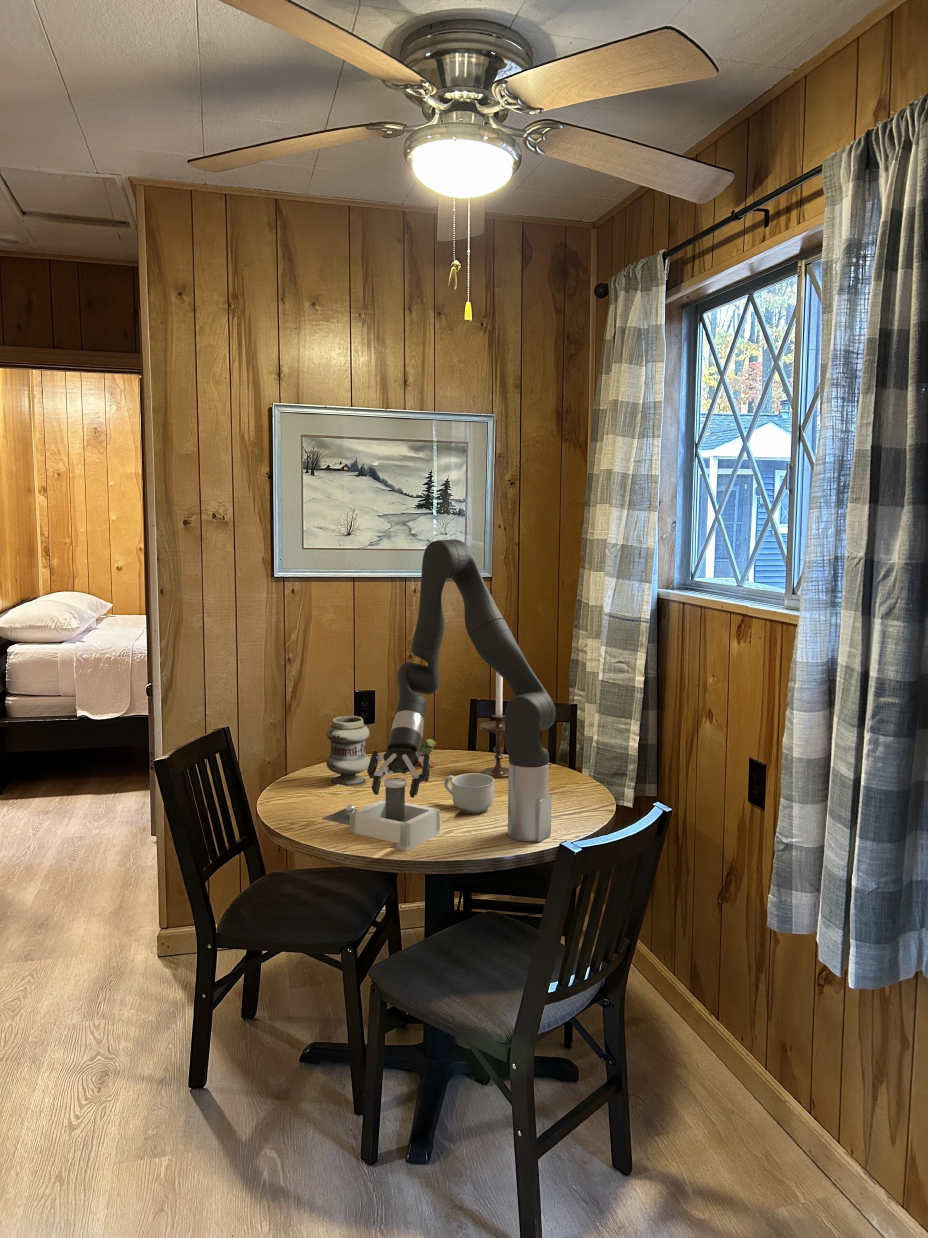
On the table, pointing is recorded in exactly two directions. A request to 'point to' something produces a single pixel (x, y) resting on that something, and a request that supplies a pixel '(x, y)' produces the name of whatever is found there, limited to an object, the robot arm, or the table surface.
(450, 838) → the table surface
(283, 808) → the table surface
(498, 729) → the candlestick
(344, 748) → the apothecary jar
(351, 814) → the bin
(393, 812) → the knob
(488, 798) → the teacup
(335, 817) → the stud plate
